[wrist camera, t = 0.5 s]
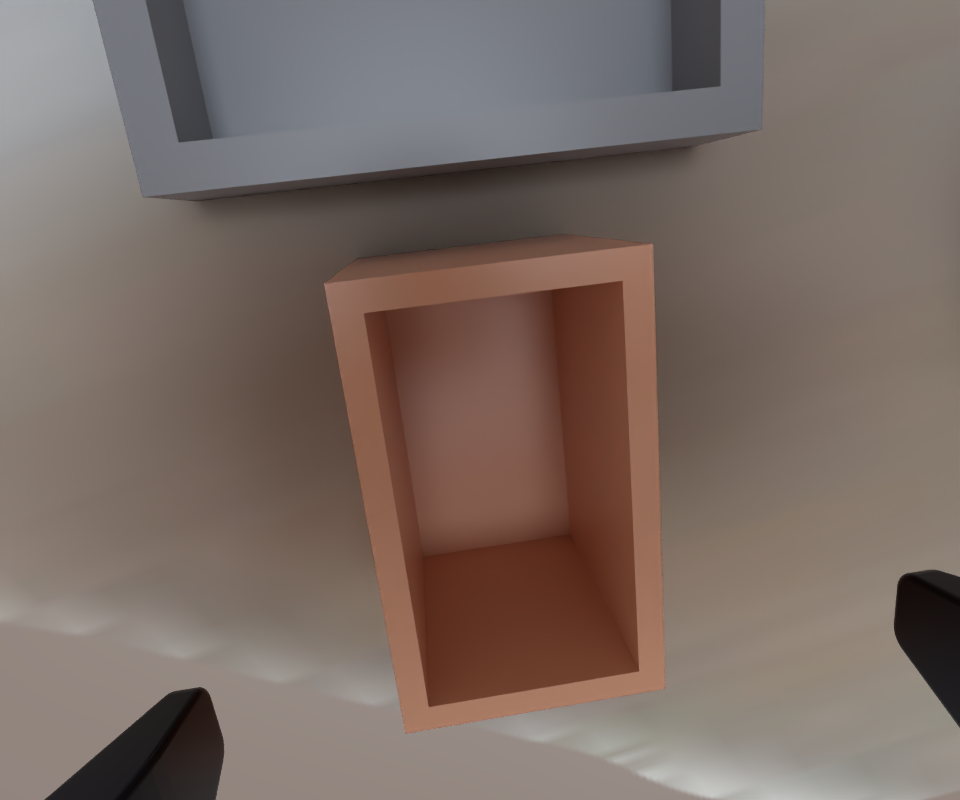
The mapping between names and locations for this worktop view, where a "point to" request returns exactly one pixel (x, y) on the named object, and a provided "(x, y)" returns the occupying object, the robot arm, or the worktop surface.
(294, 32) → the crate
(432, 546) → the box
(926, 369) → the worktop surface
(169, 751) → the robot arm
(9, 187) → the worktop surface
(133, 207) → the worktop surface
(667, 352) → the worktop surface
